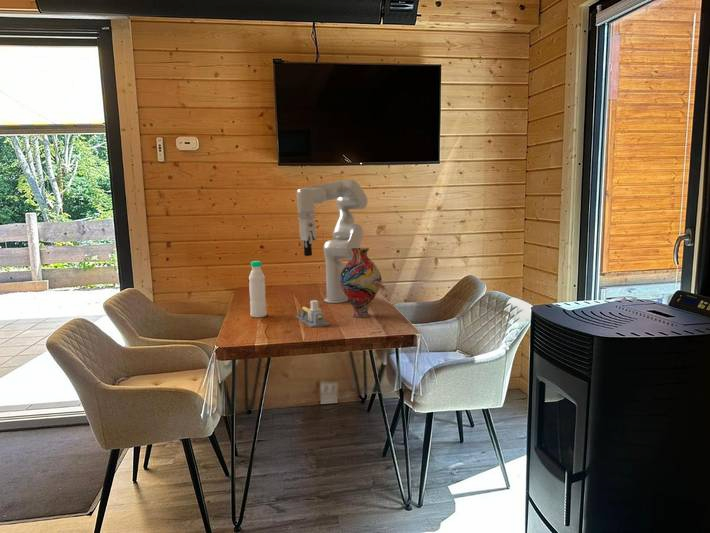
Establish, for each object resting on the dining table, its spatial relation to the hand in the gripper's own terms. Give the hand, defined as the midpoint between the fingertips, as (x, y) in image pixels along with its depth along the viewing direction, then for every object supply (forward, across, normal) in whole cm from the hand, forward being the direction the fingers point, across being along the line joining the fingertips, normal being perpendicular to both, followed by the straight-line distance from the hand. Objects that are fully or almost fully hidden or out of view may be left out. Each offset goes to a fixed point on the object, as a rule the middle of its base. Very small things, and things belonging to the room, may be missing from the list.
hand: (308, 255), depth 223 cm
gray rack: (+26, -19, +7) cm, 33 cm away
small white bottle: (+24, -23, +7) cm, 34 cm away
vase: (+26, -21, -16) cm, 37 cm away
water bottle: (+26, +2, +24) cm, 36 cm away
